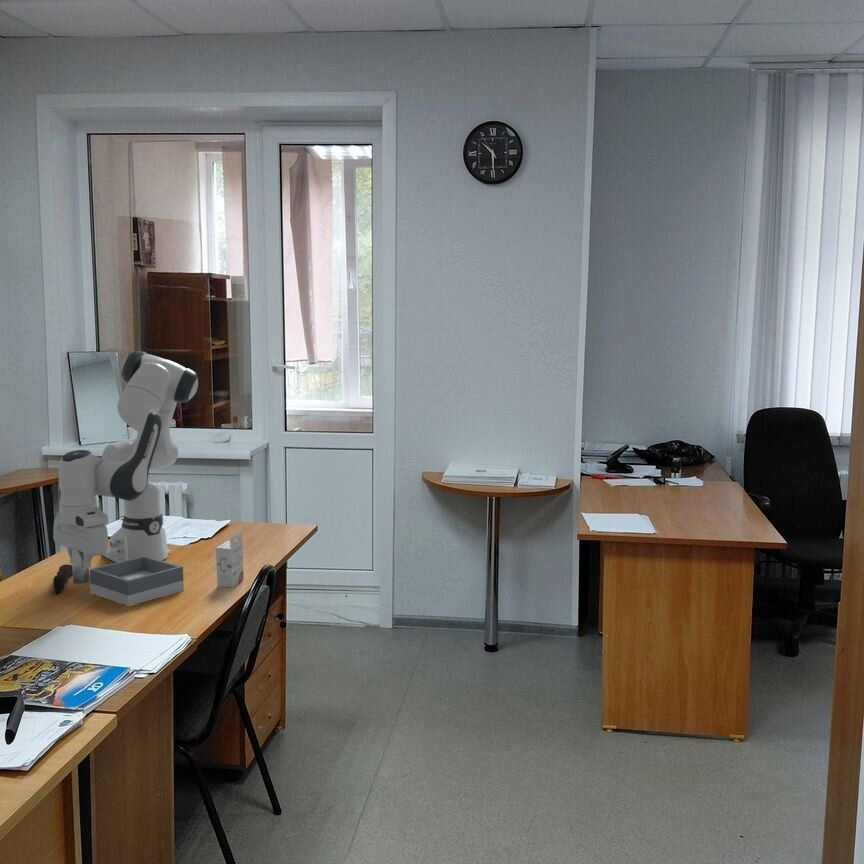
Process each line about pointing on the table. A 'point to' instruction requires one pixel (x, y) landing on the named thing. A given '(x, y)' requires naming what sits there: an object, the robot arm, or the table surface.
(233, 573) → the ink cartridge box
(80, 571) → the peg
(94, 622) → the table surface
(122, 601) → the open gray box
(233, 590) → the table surface
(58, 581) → the hand tool
